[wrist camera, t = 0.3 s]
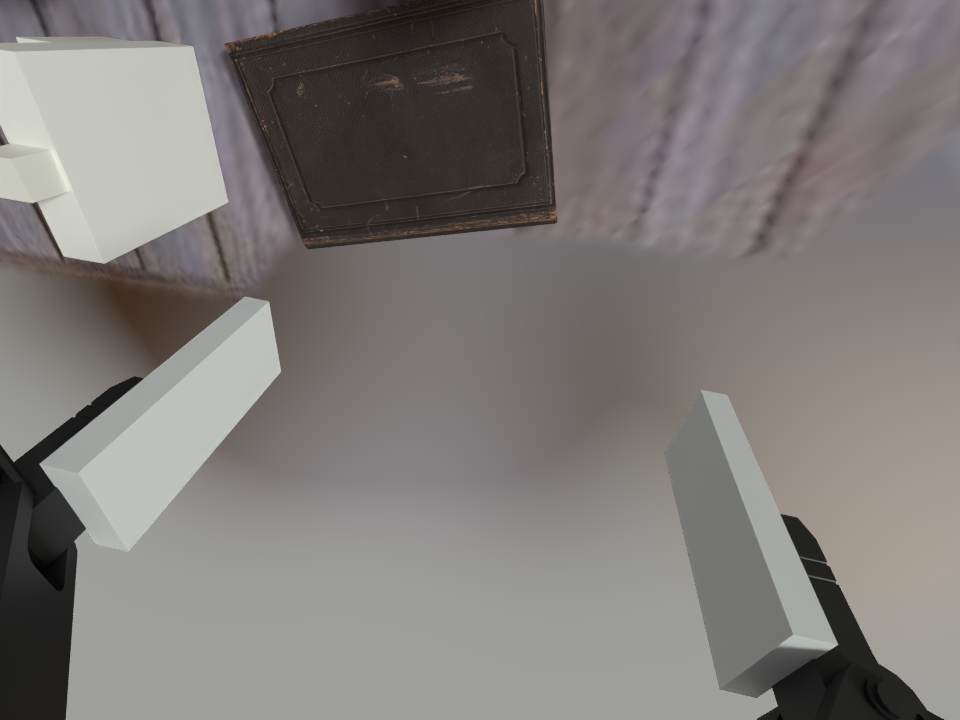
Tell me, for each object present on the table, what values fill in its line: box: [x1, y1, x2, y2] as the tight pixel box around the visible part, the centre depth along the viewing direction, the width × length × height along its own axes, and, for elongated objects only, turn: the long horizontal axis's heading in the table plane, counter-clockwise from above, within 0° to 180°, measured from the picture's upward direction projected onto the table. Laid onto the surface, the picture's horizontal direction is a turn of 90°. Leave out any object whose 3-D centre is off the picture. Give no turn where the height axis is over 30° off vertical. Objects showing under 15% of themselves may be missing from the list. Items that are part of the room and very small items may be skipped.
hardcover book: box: [225, 0, 557, 249], centre depth 35 cm, size 16×23×2 cm
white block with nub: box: [0, 37, 228, 264], centre depth 32 cm, size 12×8×16 cm, turn 174°
